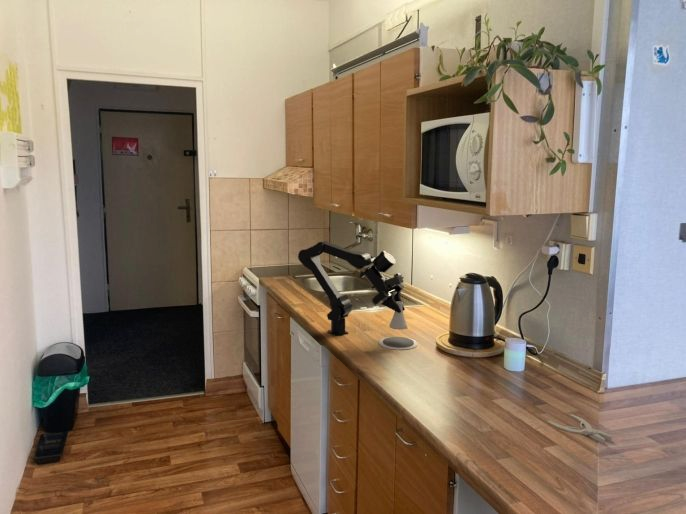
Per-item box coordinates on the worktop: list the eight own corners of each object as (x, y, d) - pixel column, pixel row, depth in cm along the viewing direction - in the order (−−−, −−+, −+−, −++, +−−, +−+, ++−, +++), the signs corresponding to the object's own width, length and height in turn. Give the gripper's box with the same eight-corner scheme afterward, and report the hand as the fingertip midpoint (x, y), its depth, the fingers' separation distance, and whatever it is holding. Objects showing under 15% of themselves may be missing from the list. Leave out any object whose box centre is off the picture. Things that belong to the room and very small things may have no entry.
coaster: (371, 340, 221) (371, 338, 221) (402, 335, 229) (402, 333, 228) (393, 352, 208) (393, 350, 208) (425, 346, 216) (425, 344, 216)
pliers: (572, 410, 158) (620, 433, 145) (571, 416, 158) (620, 439, 145) (547, 418, 153) (595, 442, 140) (547, 423, 153) (594, 448, 140)
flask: (410, 329, 215) (411, 304, 213) (392, 330, 213) (393, 305, 211) (403, 324, 222) (404, 299, 220) (386, 325, 220) (387, 300, 218)
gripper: (380, 270, 207) (407, 304, 204) (400, 263, 223) (425, 294, 220) (361, 288, 212) (386, 321, 209) (382, 280, 228) (406, 310, 225)
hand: (402, 311), depth 216 cm, fingers closed on flask, 3 cm apart
